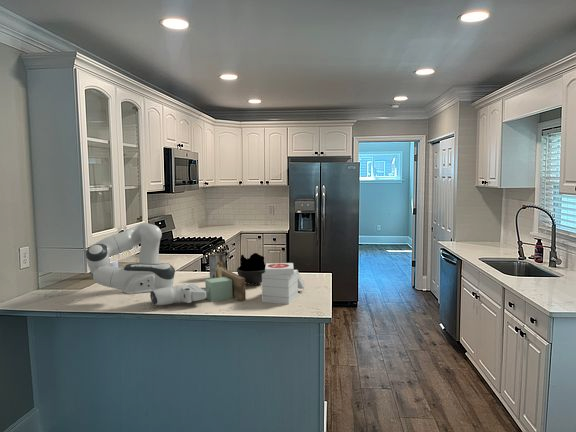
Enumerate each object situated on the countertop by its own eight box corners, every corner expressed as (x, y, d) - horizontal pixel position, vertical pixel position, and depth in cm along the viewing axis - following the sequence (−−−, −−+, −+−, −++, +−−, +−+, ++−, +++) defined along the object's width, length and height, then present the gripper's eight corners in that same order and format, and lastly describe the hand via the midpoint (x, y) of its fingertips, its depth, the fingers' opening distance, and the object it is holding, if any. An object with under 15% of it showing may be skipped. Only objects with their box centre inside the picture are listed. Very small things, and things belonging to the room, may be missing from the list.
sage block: (211, 301, 232) (211, 282, 231) (205, 297, 239) (205, 279, 238) (232, 297, 238) (232, 279, 237) (226, 294, 245) (225, 276, 244)
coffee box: (219, 276, 288) (219, 252, 286) (226, 278, 284) (225, 253, 282) (209, 279, 281) (208, 254, 279) (216, 280, 277) (215, 255, 275)
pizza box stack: (308, 290, 250) (307, 259, 248) (290, 305, 222) (290, 270, 220) (277, 288, 257) (276, 258, 255) (256, 302, 228) (255, 268, 227)
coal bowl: (273, 280, 275) (272, 251, 273) (265, 289, 255) (265, 257, 253) (242, 279, 278) (241, 250, 276) (233, 287, 259) (232, 256, 257)
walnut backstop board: (240, 301, 231) (240, 279, 229) (222, 290, 253) (221, 270, 252) (245, 300, 232) (245, 278, 231) (226, 289, 254) (226, 269, 253)
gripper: (177, 294, 237) (202, 290, 244) (189, 303, 219) (215, 299, 226) (177, 283, 236) (202, 279, 243) (189, 291, 219) (215, 287, 226)
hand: (208, 289), depth 234 cm, fingers closed
